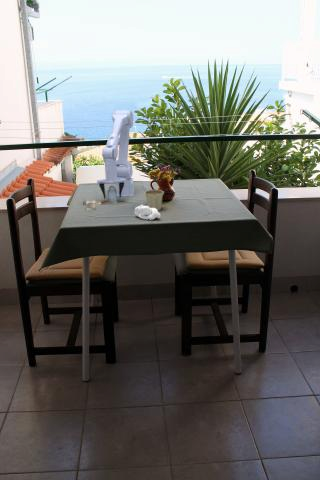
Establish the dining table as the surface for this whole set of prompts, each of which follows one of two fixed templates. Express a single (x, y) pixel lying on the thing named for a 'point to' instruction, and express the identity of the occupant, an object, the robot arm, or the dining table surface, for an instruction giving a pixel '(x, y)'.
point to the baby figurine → (146, 212)
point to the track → (98, 202)
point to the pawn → (112, 195)
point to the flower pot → (154, 198)
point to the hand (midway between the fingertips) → (112, 197)
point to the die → (90, 205)
